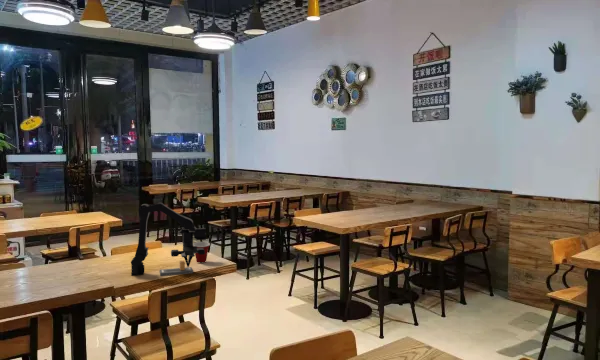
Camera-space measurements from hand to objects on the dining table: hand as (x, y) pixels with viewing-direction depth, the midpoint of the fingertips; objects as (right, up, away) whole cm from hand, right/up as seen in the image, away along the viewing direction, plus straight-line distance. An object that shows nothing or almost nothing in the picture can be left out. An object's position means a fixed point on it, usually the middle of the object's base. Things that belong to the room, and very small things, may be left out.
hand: (188, 266), depth 257 cm
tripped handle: (-3, -1, -1) cm, 3 cm away
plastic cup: (+3, -2, +22) cm, 23 cm away
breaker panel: (-6, -3, -2) cm, 7 cm away
